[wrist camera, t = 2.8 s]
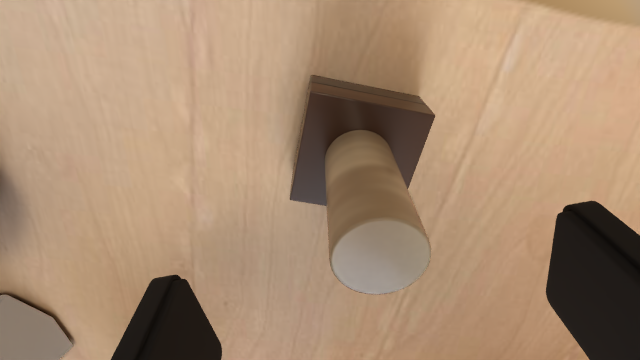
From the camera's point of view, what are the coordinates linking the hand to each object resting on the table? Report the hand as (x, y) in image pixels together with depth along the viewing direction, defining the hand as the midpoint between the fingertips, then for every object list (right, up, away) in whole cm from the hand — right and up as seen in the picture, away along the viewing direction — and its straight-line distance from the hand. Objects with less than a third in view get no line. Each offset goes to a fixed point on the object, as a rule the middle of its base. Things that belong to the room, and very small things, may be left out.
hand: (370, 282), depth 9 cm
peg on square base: (0, +5, +8) cm, 9 cm away
